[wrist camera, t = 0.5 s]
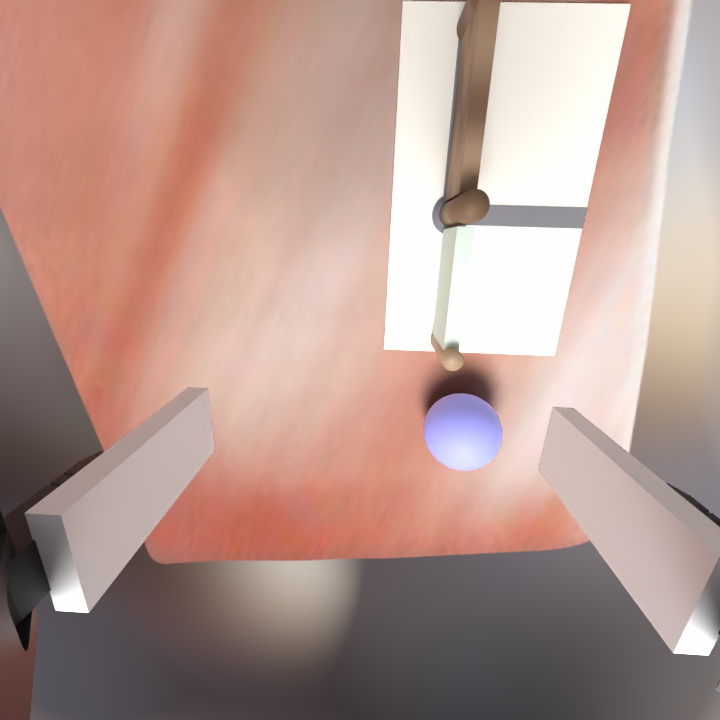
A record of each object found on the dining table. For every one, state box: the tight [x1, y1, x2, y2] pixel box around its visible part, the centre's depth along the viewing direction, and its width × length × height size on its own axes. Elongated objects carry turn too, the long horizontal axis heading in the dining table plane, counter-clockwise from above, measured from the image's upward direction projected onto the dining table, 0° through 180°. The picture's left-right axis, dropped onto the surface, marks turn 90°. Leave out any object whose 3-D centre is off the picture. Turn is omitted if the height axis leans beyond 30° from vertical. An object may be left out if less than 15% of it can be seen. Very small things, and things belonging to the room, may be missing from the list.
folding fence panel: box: [430, 226, 474, 371], centre depth 28 cm, size 10×2×6 cm, turn 178°
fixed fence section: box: [439, 0, 501, 227], centre depth 24 cm, size 14×2×7 cm, turn 178°
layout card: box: [384, 1, 631, 356], centre depth 29 cm, size 26×16×1 cm, turn 178°
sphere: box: [424, 393, 502, 471], centre depth 32 cm, size 7×7×7 cm
